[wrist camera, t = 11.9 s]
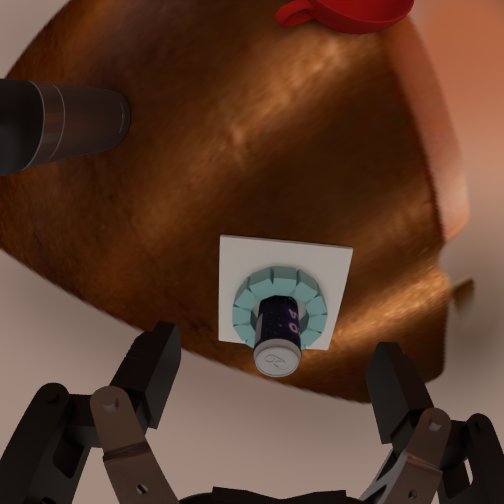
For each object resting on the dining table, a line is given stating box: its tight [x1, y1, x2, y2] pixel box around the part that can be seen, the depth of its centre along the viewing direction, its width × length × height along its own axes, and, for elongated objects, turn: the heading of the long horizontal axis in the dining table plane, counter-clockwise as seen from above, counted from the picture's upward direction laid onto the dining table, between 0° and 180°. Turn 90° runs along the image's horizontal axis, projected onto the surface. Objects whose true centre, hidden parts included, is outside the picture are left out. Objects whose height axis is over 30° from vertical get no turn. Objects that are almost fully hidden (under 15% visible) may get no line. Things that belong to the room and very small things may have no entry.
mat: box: [219, 235, 353, 350], centre depth 42 cm, size 18×18×1 cm
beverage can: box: [253, 295, 302, 377], centre depth 36 cm, size 6×6×12 cm
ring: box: [232, 266, 328, 350], centre depth 40 cm, size 13×13×4 cm
